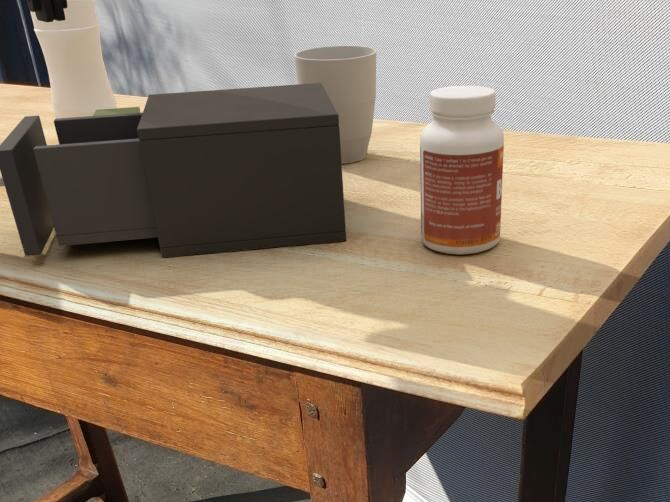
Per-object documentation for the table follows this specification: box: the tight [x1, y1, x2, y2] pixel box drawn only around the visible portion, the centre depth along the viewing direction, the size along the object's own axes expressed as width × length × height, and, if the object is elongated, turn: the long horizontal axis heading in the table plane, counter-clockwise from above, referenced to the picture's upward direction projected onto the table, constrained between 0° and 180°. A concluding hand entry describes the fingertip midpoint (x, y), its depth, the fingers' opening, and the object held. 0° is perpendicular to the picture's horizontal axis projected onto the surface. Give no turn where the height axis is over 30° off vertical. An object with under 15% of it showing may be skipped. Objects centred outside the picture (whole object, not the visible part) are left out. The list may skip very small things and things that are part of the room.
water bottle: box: [29, 0, 118, 119], centre depth 93 cm, size 7×7×25 cm
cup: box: [293, 45, 377, 165], centre depth 85 cm, size 8×8×10 cm
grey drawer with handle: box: [0, 112, 158, 257], centre depth 67 cm, size 19×11×8 cm, turn 99°
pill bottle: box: [419, 85, 505, 256], centre depth 62 cm, size 6×6×11 cm
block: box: [93, 106, 142, 116], centre depth 89 cm, size 5×5×5 cm
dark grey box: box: [137, 83, 347, 258], centre depth 68 cm, size 15×13×10 cm
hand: (51, 19), depth 73 cm, fingers closed
